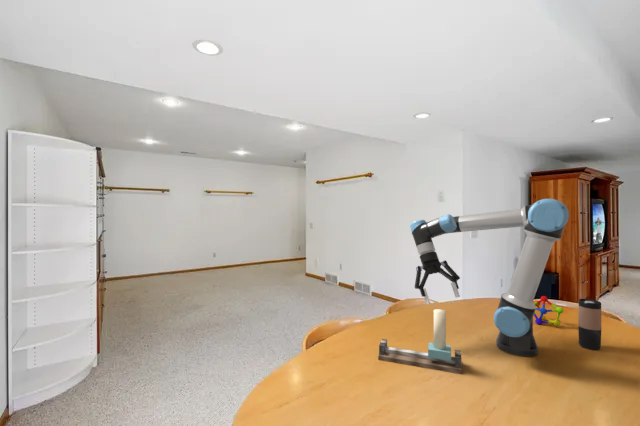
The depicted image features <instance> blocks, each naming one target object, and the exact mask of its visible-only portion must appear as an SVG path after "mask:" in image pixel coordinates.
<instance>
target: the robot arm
mask: <svg viewBox="0 0 640 426" xmlns="http://www.w3.org/2000/svg"><path fill="white" fill-rule="evenodd" d="M569 218H570V212H569V209H568V208H567V206H566V205H565V203H563V202H562V201H560V200H557V199H554V198H542V199H540V200H537V201H536V202H534V203H532V204H530V205H529V204H528V205H523V207H522V208H515V209H508V210H499V211H492V212H484V213H483V212H482V213H475V214H464V215H457V216H452V214H450V213H449V214H445V215H442V216H440V217H438V218H435V219H433V220H430V221H427V222H426V220H425V219H419V220H415V221H413V222H411V223H410V225H409V227H410V231H411V235H412V237H413V240H414V243H415V247H416V250H417V253H418V255H419V259H420V262H421V265H422V266H421V265H417V266H416V267H415V269H416V274H415V281H414V282H415V283H414V288H415V289H417V290H419V291H420V295H421V297H422V298H424V300H425V304H426V305H429V304H431V301H430V299H429V295H428V292H427V289H426V287H425V285H426V282H427V280H428V278H429V276H430V275H433V274H440V275H442V277H443V276H444V277H445V278H446V279H447V280H449V281H450V285H451V288H452V291H453V294H454V297H455V298H460V297H461V295H460V292H459V289H460V287H459V284H458V280H460V279H461V277H460V275H458V274H457V272H456V271H454V269H453V268H452V267H451V266H450V265H449V264H448V261H447V260H443V261H441V262H440V259H439V256H438V254H437V252H436V248H435V245H434V242H433V238H436V237H440V236H442V235H445V234H451V233H452V234H454V233H463V232H476V231H487V230H499V229H508V228H520V227H521V228H522V227H524V229H523V231H524V233H525V235H526V237H525V239H524V240H525V241H524V243H523V246H522V249H521V251H520V254H519V257H518V261H517V263H516V267H515V269H514V273H513V274H512V275H513V276H512V278H511V282H510V284H509V288H508V290H507V292H504V293H502V294H501V295H500V299H499V300H500V301H499V302H498V307H497V308H496V310H495V312H494V313H493V322H494V325H495V327H496V329H497V330H498V331H499V332H498V334H497V338H496V341H495V342H496V343H495V344H496V345H495V346H496V347H497V348H498V349H499V350H501V351H503V352H505V353H508V354H510V355H515V356H521V357H534V356H537V355H538V354H539V347H538V344H537V341H536V338H535V336H534V312H535V311H536V308H537V306H535V305H534V301H535V296H536V293H537V291H538V288H539V285H540V283H541V280H542V277H543V274H544V271H545V268H546V266H547V262H548V261H549V257H550V254H551V251H552V249H553V245H554V243H555V242H557V241H560V240H561V238H562V235H563V233H564V229H565V228H566V224H567V223H568V222H569ZM442 267H443V268H444V269H445V270H444V269H443V268H442ZM423 271H425V272H424V273H423V276H422V272H423ZM421 277H422V279H421ZM535 313H536V312H535Z"/></svg>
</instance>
